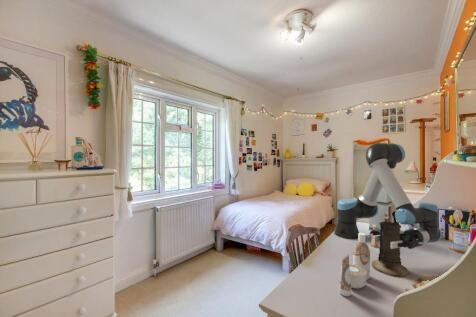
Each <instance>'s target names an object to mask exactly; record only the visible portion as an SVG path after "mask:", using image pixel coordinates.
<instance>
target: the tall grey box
mask: <svg viewBox="0 0 476 317" xmlns="http://www.w3.org/2000/svg"><path fill="white" fill-rule="evenodd" d="M376 201H377V205H378V207H377V208H378V213H377V215H376V216H374V217H371V218H368V221H369V222H368V225H369V226H368V230H369V231H370V232H371V231H372V230H373V225H377V226H378V227H379V229H378V230H377V231H378V232H380V231H381V228H380V222H386V218H387V217H388V216H389V208H390V207H392V206H393V203H392V201H391V200H390V198H389V196H388V194H387V193H386V191H385V189H384V187H382V189H381V191H380V193H379V195H378V197H377V200H376Z"/></svg>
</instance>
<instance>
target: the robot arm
mask: <svg viewBox="0 0 476 317" xmlns="http://www.w3.org/2000/svg"><path fill="white" fill-rule="evenodd" d="M405 158H406V150H405V149H404V147H403V146H402V145H401V144H398V143H394V142H391V143H387V142H386V143H385V142H384V143H383V142H376V143H372V144H371V145H370V146H368V148H367V149H366V151H365V159H366V164H367V165H368V166H369V168H370V169H372V171H371V175H370V176H369V178H368V181H367V183H366V186H365V187H364V190H363V193H362V194H360V195H358V198H357V199H354V198H342V199H339V200H338V201H337V210H336V211H337V218H336V219H337V220H336V225H335V227H334V229H333V230H334V231H333V232H334V235H335V236H338V237H339V238H344V239H350V240H351V239H352V240H353V239H358V233H360V232H359V228H358V225H357V219H358V220H359V219H369V218H371V217H374V216H376V215H377V213H378V208H377V207H378V205H377V201H376V200H377V197H378V195H379V193H380V191H381V189H382V187H384V189H385V191H386V193H387V194H388V196H389V198H390V200H391V201H392V206H393V207H394V209H395V210H396V211H395V213H394V218H395V220H396V222H397V223H398V224H399V225H406V226H407V225H409V226H410V225H417V224H419V225H418V227H415V228H409V229H408V228H407V229H405V230H404V231H403V232H400V241H395V242H391V249H394V248H399V247H400V248H407V249H409V250H412V249H415V248H417V247H421V246H422V247H423V245H424V244H430V243H435V242H439V241H441V240H442V239H443V236H444V235H443V234H444V233H443V231H442V230H441V229H440V228H439V207H438V205H437V204H435V203H429V202H421V203H419V204H418V207H415V206H414V205H413V203H412V202H411V200H410V198H409V197H408V195H407V194H406V192H405V190H404V189H403V187H402V185H401V184H400V182H399V181H398V179H397V177H396V175H395V174H394V173H393V170H394V169H396V167H397V165H398V164H400V163H402V162H403V161H404V160H405ZM373 241H374V242H378V241H379V242H380V232H379V235H375V236H373Z"/></svg>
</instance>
